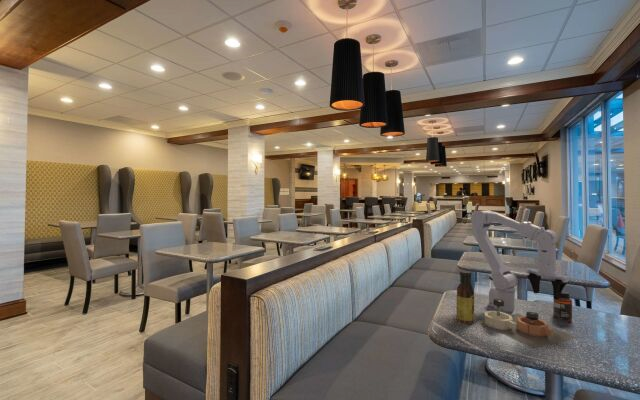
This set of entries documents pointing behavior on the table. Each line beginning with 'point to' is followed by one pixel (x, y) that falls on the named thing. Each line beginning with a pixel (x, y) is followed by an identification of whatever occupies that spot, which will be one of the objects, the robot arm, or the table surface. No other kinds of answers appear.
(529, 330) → the terracotta pot
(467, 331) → the table surface
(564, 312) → the supplement bottle
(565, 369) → the table surface
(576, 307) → the table surface
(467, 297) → the sauce bottle
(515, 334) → the slate board
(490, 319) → the cream pot
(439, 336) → the table surface
